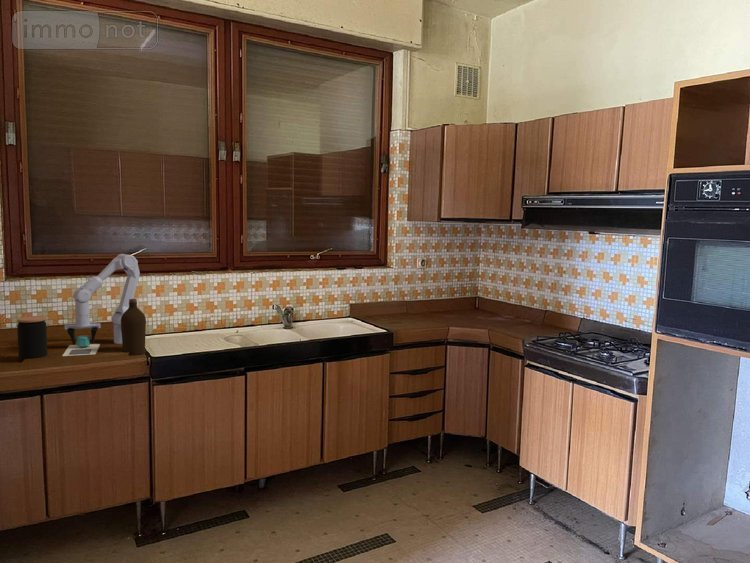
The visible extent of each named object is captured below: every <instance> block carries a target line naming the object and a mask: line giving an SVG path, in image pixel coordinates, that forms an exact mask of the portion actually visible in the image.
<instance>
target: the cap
mask: <svg viewBox="0 0 750 563" xmlns="http://www.w3.org/2000/svg"><path fill="white" fill-rule="evenodd" d="M90 344H91V338H90V335H86V334H85V335H78V336H76V345H77V346H88V345H90Z"/></svg>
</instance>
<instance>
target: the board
mask: <svg viewBox="0 0 750 563" xmlns="http://www.w3.org/2000/svg"><path fill="white" fill-rule="evenodd" d="M100 345H101V343H93V344H92V343H90V345H88V346H87V347H86V348H80V346H77V344H75V345H73V344H71V345H70V344H69V345H68V347H67V348H66V350H65V351H64V353H63V354H62V357H67V356H70V357H71V356H73V357H75V356H87V355H88V356H89V355H91V356H92V355H96V354H97V352H98V350H99V348H100ZM78 349H92V350H91V352H90V354H76V355H69V353H70V352H71V350H78Z"/></svg>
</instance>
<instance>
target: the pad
mask: <svg viewBox="0 0 750 563" xmlns="http://www.w3.org/2000/svg"><path fill="white" fill-rule="evenodd" d="M91 350H92V349H78V350H71V352H70V353H69V355H74V356H77V355H76V354H90V352H91Z"/></svg>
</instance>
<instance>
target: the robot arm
mask: <svg viewBox="0 0 750 563" xmlns="http://www.w3.org/2000/svg"><path fill="white" fill-rule="evenodd" d="M138 263H139V261H138V259H137V258H136V257H135V256H134V255H132V254H125V253H120V254H118V255H117V256H116V257H114V258H113V259H112V260H111V261H110V262H109V263H108V265H106V267H105V268H103V270H101V271H100V272H99V274H98V275H97V276H91V277H88V278H87V281H86V282H85V283H83V285H80V286H79V288H77V289H76V290H74V292H73V294H72V298H73V300H74V311H75V312H74V313H75V316H74V317H75V323H71V324H65V325H64V330H67V333H68V335H69V338H70V339H71V342H72V345H76V337H75V336H76V335H75V333H76V330H77V329H79V330H81V329H91V331H90V334H91V340H90V344H95V338H96V337H95V336H96V335H97V332H98V330H99V329H101V323H99V322H98V323H95V322H94V323H91V322H90V321H91V320H90V318H91V317H90V300H91V298H92V295H94V294H95V293H96V292H97V290H99V289H100V288H101V287H102V286H103V281H105V280H106V279H107V278H109V276H110V275H112V274H113V273H114V272H115V271H117V270H123V271H124V272H125V274H126V279H125V283H124V286H123V290H122V294H121V298H120V301H119V305H118V307H117V308H116V309H115V312H114V313H113V314H112V316H111V322H112V324H113V343H114V344H117V345H122V332H121V317H122V315H123V313H124V312H125V311H126V310H127V309H128V308H129V299H135V298H134V297H135V293H136V290H137V285H138V282H139V279H140V274H141V273H140V268H139V264H138Z"/></svg>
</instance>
